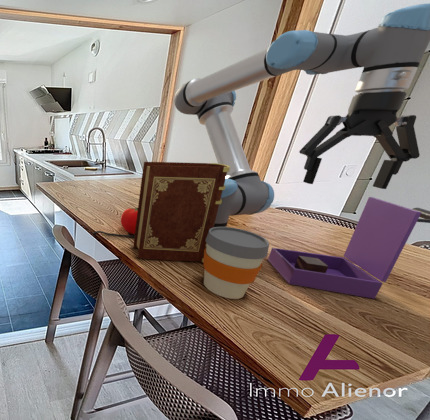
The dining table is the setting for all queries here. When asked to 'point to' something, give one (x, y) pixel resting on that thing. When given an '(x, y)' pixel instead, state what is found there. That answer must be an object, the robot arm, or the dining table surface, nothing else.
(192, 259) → the decorative book
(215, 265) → the reusable coffee cup
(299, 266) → the block
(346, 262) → the purple box base
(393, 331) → the dining table surface
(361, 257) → the purple hinged lid
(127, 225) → the tomato
